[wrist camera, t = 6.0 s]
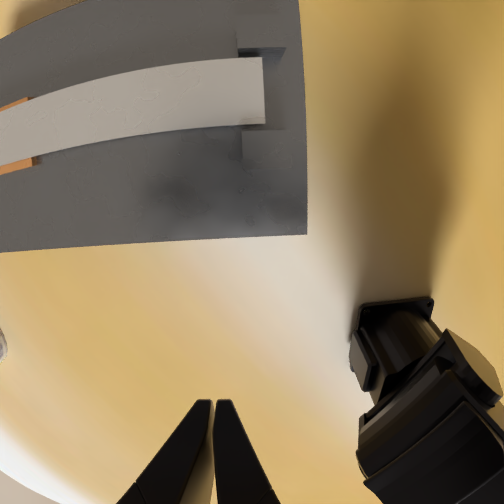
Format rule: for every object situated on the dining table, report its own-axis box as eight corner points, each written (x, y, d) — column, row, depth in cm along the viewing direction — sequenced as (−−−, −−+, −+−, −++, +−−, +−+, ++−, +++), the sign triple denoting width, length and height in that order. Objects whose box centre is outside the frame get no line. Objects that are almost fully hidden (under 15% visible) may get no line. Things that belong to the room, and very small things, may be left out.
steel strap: (261, 61, 12) (262, 57, 11) (264, 124, 13) (265, 123, 13) (-15, 121, 12) (-23, 122, 11) (-11, 169, 13) (-19, 172, 12)
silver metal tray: (286, -1, 14) (301, -47, 9) (295, 213, 20) (314, 248, 14) (11, 58, 15) (-42, 50, 9) (26, 233, 20) (-22, 264, 14)
